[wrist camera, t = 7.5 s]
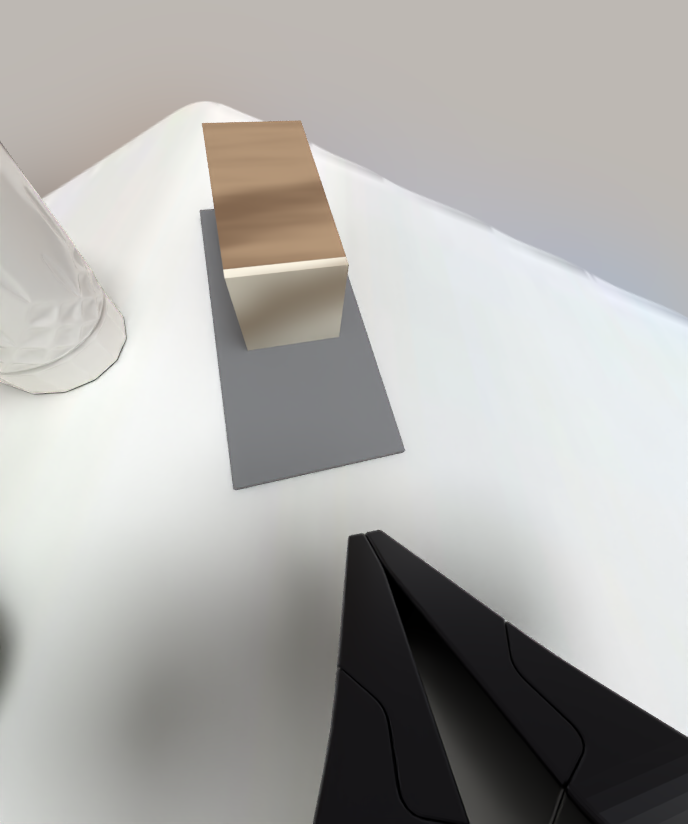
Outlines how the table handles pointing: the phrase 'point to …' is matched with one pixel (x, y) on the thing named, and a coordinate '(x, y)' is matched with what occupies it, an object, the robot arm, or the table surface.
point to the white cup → (48, 297)
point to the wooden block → (275, 233)
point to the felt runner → (296, 392)
